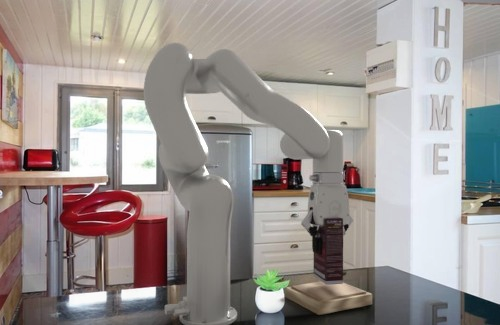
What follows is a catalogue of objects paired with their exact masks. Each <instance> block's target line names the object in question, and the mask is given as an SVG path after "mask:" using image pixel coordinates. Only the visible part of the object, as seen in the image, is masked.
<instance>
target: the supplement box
mask: <svg viewBox="0 0 500 325" xmlns="http://www.w3.org/2000/svg"><path fill="white" fill-rule="evenodd" d="M316 231H317V230H316ZM320 238H322V254H317V253H314V252H313V276H314V278H316V279H318V281H319V282H320V281H322V282H323V283H324V284H326V285H331V284H343V283H344V236H343V218H325V226H324V227H322V232H321V236H320Z"/></svg>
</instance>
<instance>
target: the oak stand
mask: <svg viewBox="0 0 500 325" xmlns="http://www.w3.org/2000/svg"><path fill="white" fill-rule="evenodd" d="M285 298H286V299H288V300H290V301H292V302H294V303H295V304H298V305H300V306H301V307H303V308H305V309H306V310H309V311H311V312H312V313H314V314H316V315H326V314H331V313H335V312H340V311H345V310H350V309H355V308H356V309H357V308H361V307H366V306H370V305H371V306H372V305H373V293H371V292H369V291H366V290H363V289H362V288H358V287H356V286H353V285H351V284H348V283H346V282H343V284H331V285H326V284H324V283H323V282H322V281H320V280H319V281H315V282H308V283H302V284H295V285H291V286H287V287H285Z"/></svg>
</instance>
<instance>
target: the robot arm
mask: <svg viewBox="0 0 500 325" xmlns="http://www.w3.org/2000/svg"><path fill="white" fill-rule="evenodd" d="M143 83H144V84H143V100H144V106H145V109H146V112H147V115H148V117H149V120H150V122H151V124H152V127H153V128H154V131H155V133H156V136H157V137H158V140H159V142H160V144H159V146H158V151H157V152H158V154H157V155H158V160H159V164H160V166H161V167H162V170H163V172H164V174H165V176H166V178H167V180H168V182H169V184H170V186H171V187H172V190H173V192H174V194H175V196H176V198H177V200H178V202H180V205H181V206H182V207H183V208H184V209H185V210H186V211H188V212H189V213H188V222H187V231H186V296H182V300H181V301H178V303H169V304H165V305H164V313H165V315H170V314H173V316H174V317H177V316H178V317H179V321H180V323H181V324H183V325H232V323H234V322H235V321H236V320H237V319H238V312H237V311H238V310H236V309H235V307H232V306H231V230H232V229H231V227H232V217H233V211H234V202H235V200H234V192H233V189H232V187H231V185H230V184H229V182H228V181H227V180H226V179H225V178H223V177H221V176H219V175H216V174H212V173H211V174H210V173H209V171H208V169H207V168H206V164H207V163H208V160H209V157H210V156H209V155H210V154H209V148H208V144H207V143H206V141H205V139H204V136H203V135H202V133H201V131H200V129H199V127H198V125H197V123H196V120H195V119H194V116H193V114H192V111H191V109H190V107H189V104H188V101H187V97H186V96H187V95H188V94H189V95H190V94H191V95H206V94H207V95H209V94H210V95H211V94H217V93H222V94H223V95H224V96H225V98H227V99H228V100H229V101H230V102H231V103H232V104H233V105H234V106H236V107H237V109H238V110H240V111H241V112H242V114H244V115H245V116H246V117H247V118H249V119H250V120H253V121H255V122H259V123H262V124H265V125H269V126H271V127H274V128H276V129H278V130H279V131H280V132H283V133H284V134H283V135H282V137H281V139H280V141H279V142H280V143H279V149H280V151H281V153H282V154H283V155H284V156H285V157H287V158H289V159H292V160H312V174H311V175H309V180H310V181H311V182H312V184H311V185H310V188H309V192H308V201H307V214H306V215H305V217H304V218H303V219H302V221H301V226H302V227H303V228H304V229H305V230H306V231H307V233H308V234H309V235H310V237H311V244H312V245H311V247H312V248H311V249H312V253H313V254H314V253H317V254H322V238H320V236H321V232H322V227H324V226H325V218H343V237H344V236H345V235H346V233H347V231H348V229H349V227H350V226H351V225H352V223H353V222H354V219H353V217H352V216H351V214H350V200H349V194H348V189H347V185H345V184H344V136H343V133H342V132H341V131H340V130H337V129H336V130H335V129H326V128H324V126H323V125H322V124H321V123H320V122H319V120H317V118H315V117H314V115H312V114H311V113H310V112H309V111H308V110H307V109H305V108H304V107H303V106H300V104H298V103H296V102H294V101H292V100H291V99H289V98H287V97H285V96H284V95H282V94H279V93H277V92H275V90H274V89H272V88H271V87H270V86H269V85H268V83H267V82H265V81H264V80H263V79H262V78H261V77H260V76H259V75H258V74H257V73H256V72H255V71H254V70H253V69H252V68H251V66H249V65H248V64H247V62H245V61H244V60H243V58H241V57H240V56H239V55H238V54H237V53H236V52H234V51H232V50H230V49H226V48H222V49H218V50H216V51H214V52H212V53H211V54H210V55H208V56H207V57H206V58H194V55H193V53H192V52H191V51H190V49H189V48H188V47H187V46H186V45H184V44H182V43H180V42H171V43H168V44H166V45H163V46H162V47H161V48H159V50H158V51H157V52H156V54H155V55H154V57H153V58H152V60H151V61H150V63H149V65H148V67H147V70H146V74H145V77H144V82H143ZM186 94H187V95H186ZM316 230H317V231H316Z"/></svg>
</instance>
